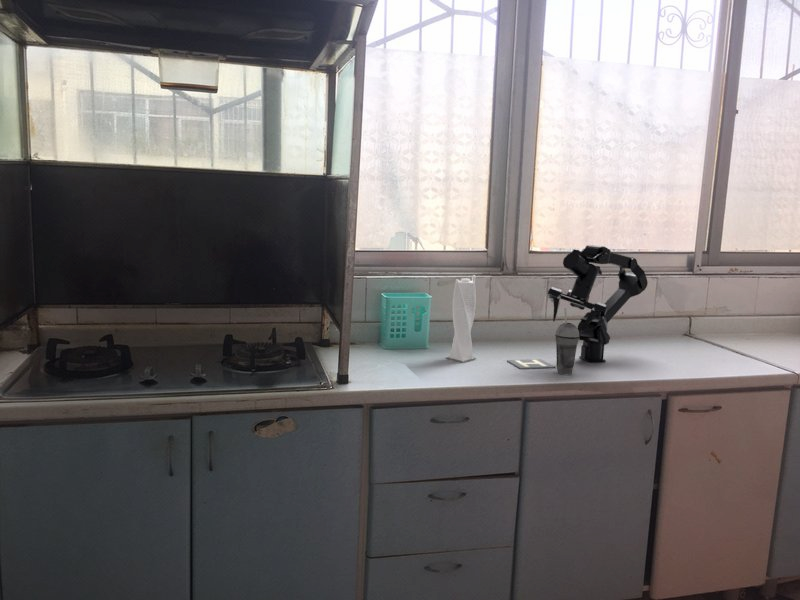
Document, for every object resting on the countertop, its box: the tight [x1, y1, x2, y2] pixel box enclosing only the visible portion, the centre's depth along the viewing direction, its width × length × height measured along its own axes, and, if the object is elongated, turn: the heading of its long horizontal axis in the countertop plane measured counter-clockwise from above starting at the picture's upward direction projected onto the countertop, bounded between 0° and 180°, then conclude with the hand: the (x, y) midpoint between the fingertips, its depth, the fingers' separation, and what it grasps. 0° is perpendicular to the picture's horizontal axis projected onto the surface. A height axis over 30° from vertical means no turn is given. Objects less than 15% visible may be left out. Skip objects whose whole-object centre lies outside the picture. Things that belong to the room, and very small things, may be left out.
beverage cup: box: [554, 307, 580, 375], centre depth 209 cm, size 7×7×20 cm
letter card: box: [506, 358, 556, 370], centre depth 220 cm, size 12×10×1 cm
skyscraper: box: [445, 274, 477, 363], centre depth 221 cm, size 8×8×28 cm
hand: (567, 326), depth 218 cm, fingers open, 9 cm apart
